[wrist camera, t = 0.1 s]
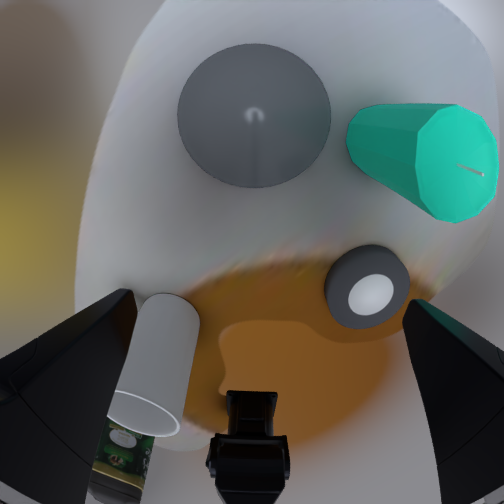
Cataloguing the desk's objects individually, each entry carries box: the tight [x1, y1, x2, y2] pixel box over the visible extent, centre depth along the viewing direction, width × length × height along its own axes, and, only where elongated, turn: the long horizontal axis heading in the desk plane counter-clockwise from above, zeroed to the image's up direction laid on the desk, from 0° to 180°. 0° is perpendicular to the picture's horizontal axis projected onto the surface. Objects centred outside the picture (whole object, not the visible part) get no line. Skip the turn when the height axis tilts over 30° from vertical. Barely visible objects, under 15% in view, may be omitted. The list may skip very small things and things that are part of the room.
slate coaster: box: [177, 44, 331, 188], centre depth 18 cm, size 11×11×1 cm
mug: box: [107, 294, 200, 437], centre depth 21 cm, size 10×7×12 cm, turn 49°
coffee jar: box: [87, 417, 155, 504], centre depth 27 cm, size 10×8×19 cm
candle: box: [346, 104, 499, 223], centre depth 14 cm, size 6×6×12 cm
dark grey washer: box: [324, 245, 410, 329], centre depth 24 cm, size 8×8×2 cm
